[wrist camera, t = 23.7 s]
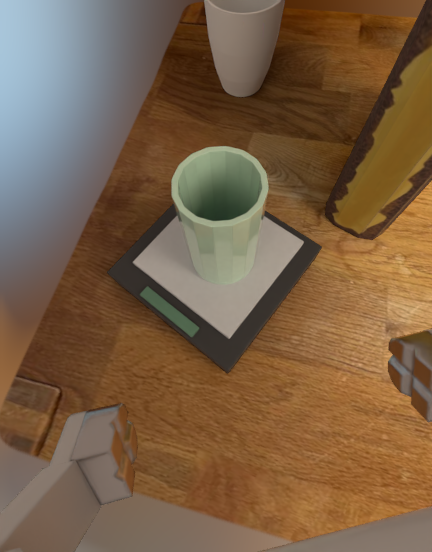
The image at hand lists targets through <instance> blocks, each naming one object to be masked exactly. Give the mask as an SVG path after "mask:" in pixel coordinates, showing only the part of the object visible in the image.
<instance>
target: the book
mask: <svg viewBox="0 0 432 552" xmlns="http://www.w3.org/2000/svg"><path fill="white" fill-rule="evenodd" d="M431 181H432V0H426V2H425V4H424V6H423V8H422V10H421V12H420V14H419V16H418V18H417V20H416V22H415V24H414V26H413V28H412V30H411V32H410V34H409V36H408V38H407V40H406V42H405V44H404V46H403V49H402V51H401V53H400V55H399V57H398V59H397V61H396V63H395V65H394V67H393V69H392V71H391V73H390V75H389V77H388V79H387V81H386V83H385V85H384V87H383V89H382V91H381V93H380V95H379V97H378V99H377V101H376V103H375V105H374V107H373V109H372V111H371V113H370V115H369V118H368V120H367V122H366V124H365V126H364V128H363V130H362V132H361V134H360V136H359V138H358V140H357V142H356V144H355V146H354V148H353V150H352V152H351V154H350V156H349V158H348V160H347V162H346V164H345V166H344V168H343V170H342V172H341V174H340V176H339V178H338V180H337V182H336V184H335V187H334V189H333V191H332V193H331V195H330V197H329V199H328V201H327V203H326V209H325V215H326V217H327V218H328V219H329V220H330V221H331V222H332V223H333V224H334V225H335V226H337V227H339V228H341V229H343V230H345V231H347V232H349V233H350V234H352V235H354V236H356V237H358V238H364V239H370V240H373V239H374V238H376V237H378V236H379V235H381V234H382V233H383V232H384V231H385V230H386V229H387V228H388V227H389V226H390V225H391V224H392V223H393V222H394V221H395V219H396V218H397V217H398V216H399V215H400V214H401V213H402V212H403V211H404V210H405V209H406V208H407V207H408V205H409V204H410V203H411V202H412V201H413V200H414V199H415V198H416V197H417V196H418V195H419V194H420V193H421V191H422V190H423V189H424V188H425V187H426V186H427V185H428V184H429V183H430V182H431Z"/></svg>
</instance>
